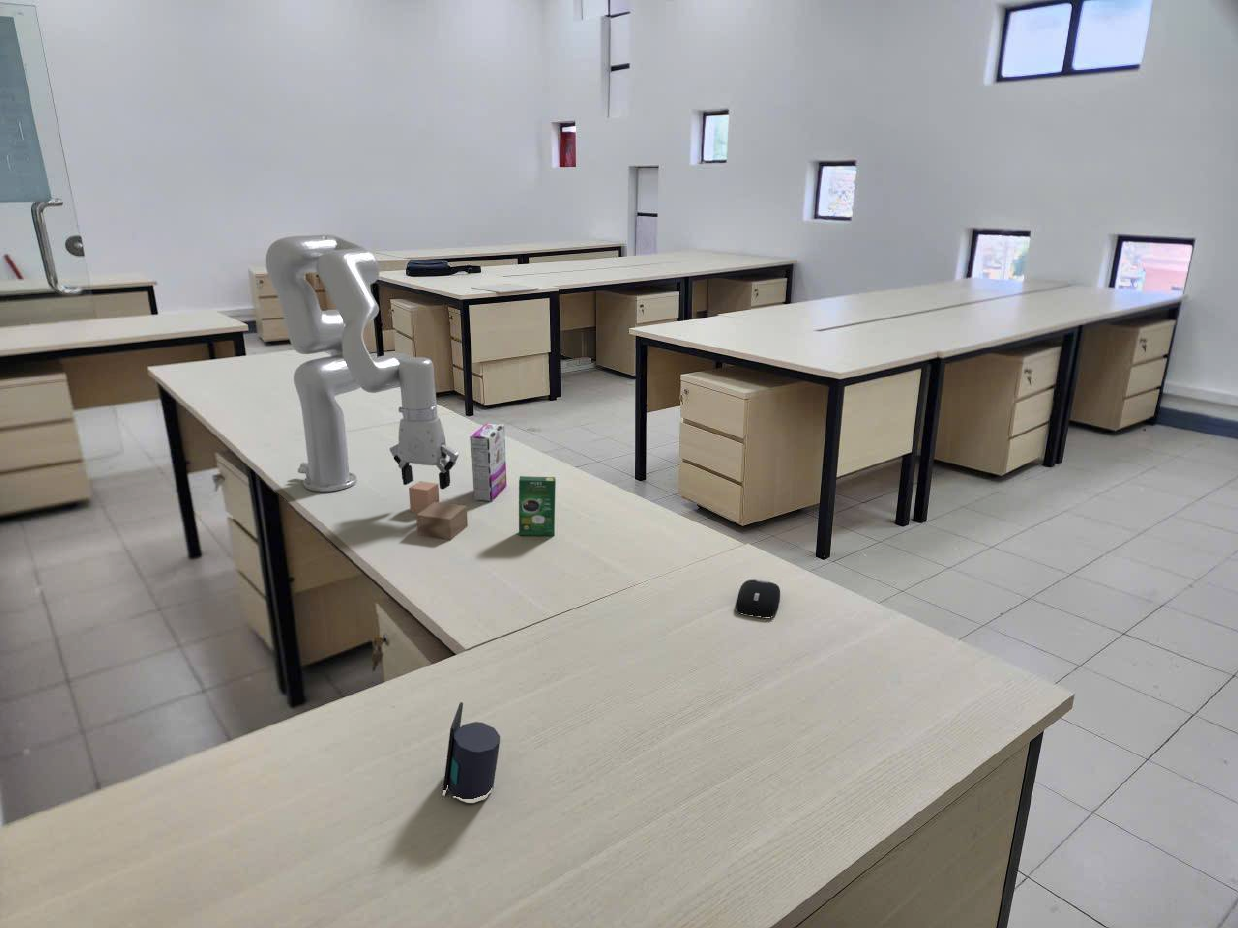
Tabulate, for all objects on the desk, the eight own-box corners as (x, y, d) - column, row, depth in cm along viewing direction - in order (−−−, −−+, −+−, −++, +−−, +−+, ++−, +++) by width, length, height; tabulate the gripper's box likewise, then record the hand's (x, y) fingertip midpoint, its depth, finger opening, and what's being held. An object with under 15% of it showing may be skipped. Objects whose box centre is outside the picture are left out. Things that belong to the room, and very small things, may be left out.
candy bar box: (488, 484, 207) (486, 422, 202) (507, 486, 206) (505, 424, 201) (472, 500, 197) (469, 435, 192) (491, 502, 196) (489, 437, 191)
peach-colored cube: (410, 512, 190) (409, 487, 188) (421, 504, 194) (420, 481, 192) (428, 515, 188) (427, 490, 186) (439, 507, 192) (438, 483, 190)
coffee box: (556, 531, 181) (556, 475, 177) (555, 536, 178) (555, 480, 174) (519, 531, 181) (518, 475, 176) (518, 536, 178) (517, 479, 173)
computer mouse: (783, 592, 156) (785, 573, 155) (773, 622, 146) (775, 602, 144) (745, 586, 159) (746, 567, 157) (732, 614, 148) (733, 595, 147)
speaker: (426, 793, 103) (431, 724, 100) (452, 766, 108) (458, 700, 105) (478, 816, 100) (485, 746, 97) (502, 788, 106) (509, 720, 102)
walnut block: (417, 536, 177) (416, 514, 176) (435, 522, 185) (434, 501, 183) (451, 541, 175) (450, 519, 174) (467, 526, 183) (466, 506, 181)
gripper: (377, 414, 183) (385, 486, 188) (445, 420, 177) (451, 494, 183) (396, 406, 189) (403, 476, 195) (462, 412, 184) (467, 483, 189)
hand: (426, 485), depth 189 cm, fingers open, 9 cm apart
